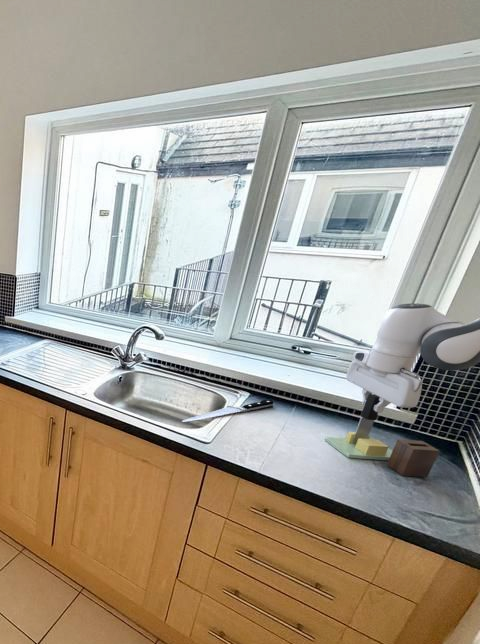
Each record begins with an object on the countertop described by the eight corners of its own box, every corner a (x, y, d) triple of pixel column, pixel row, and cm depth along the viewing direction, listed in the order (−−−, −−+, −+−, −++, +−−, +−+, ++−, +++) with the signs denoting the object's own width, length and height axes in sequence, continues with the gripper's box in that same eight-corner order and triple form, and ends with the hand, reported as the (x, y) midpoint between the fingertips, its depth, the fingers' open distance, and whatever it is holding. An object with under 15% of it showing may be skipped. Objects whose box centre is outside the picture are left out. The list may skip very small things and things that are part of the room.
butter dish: (374, 443, 125) (375, 440, 125) (402, 461, 116) (404, 458, 116) (324, 439, 127) (325, 436, 126) (348, 457, 118) (349, 454, 117)
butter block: (373, 448, 120) (377, 439, 119) (385, 456, 117) (388, 446, 116) (354, 447, 121) (358, 438, 120) (365, 454, 117) (369, 445, 116)
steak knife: (168, 420, 139) (169, 413, 139) (260, 402, 151) (261, 396, 150) (181, 426, 135) (182, 419, 134) (274, 407, 146) (276, 401, 146)
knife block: (410, 466, 114) (422, 440, 111) (427, 477, 109) (439, 450, 106) (386, 464, 114) (397, 439, 112) (402, 475, 110) (413, 449, 107)
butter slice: (363, 441, 124) (366, 432, 123) (367, 444, 123) (370, 435, 122) (345, 440, 124) (348, 431, 123) (348, 443, 123) (352, 434, 122)
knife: (361, 441, 123) (379, 394, 118) (368, 445, 121) (386, 397, 116) (349, 440, 124) (366, 393, 119) (355, 444, 122) (372, 397, 116)
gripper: (437, 377, 104) (416, 426, 109) (373, 351, 123) (357, 394, 128) (410, 375, 105) (389, 424, 109) (349, 350, 124) (334, 393, 128)
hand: (371, 408), depth 119 cm, fingers closed on knife, 2 cm apart
